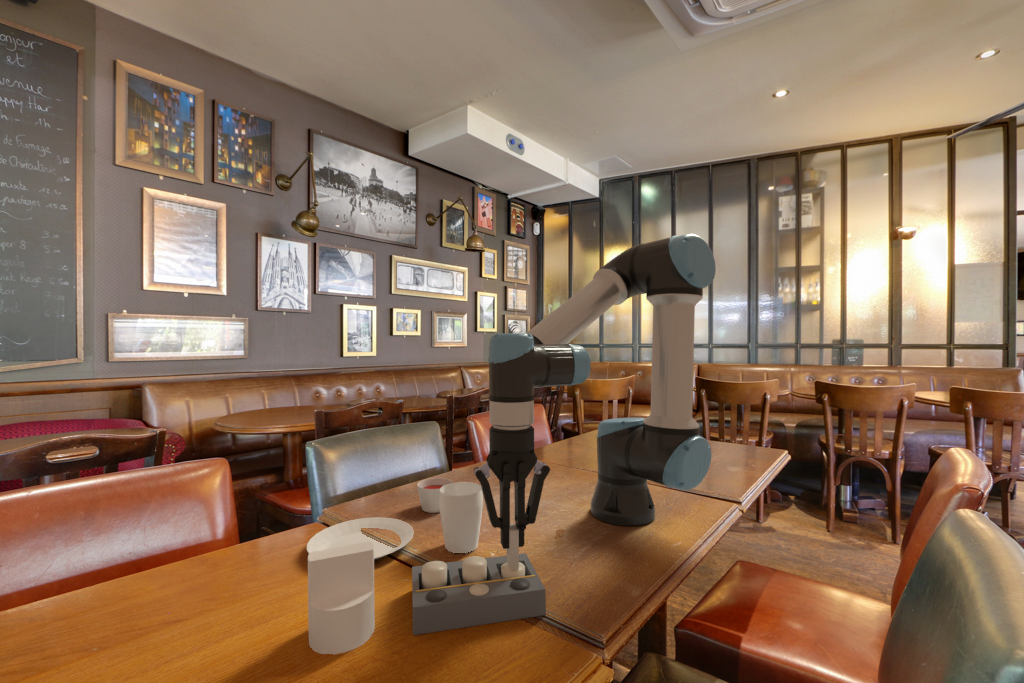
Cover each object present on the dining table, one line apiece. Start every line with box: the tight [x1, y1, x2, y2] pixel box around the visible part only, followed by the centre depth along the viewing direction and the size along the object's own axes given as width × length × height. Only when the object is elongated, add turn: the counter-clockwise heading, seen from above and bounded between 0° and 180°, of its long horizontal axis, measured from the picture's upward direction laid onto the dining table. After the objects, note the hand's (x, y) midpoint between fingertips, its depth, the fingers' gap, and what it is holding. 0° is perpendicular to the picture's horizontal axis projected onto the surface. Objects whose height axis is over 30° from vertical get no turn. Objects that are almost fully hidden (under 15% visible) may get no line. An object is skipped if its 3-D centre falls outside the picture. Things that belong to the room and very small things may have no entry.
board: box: [411, 552, 547, 636], centre depth 73 cm, size 20×12×4 cm, turn 103°
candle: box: [416, 477, 454, 514], centre depth 114 cm, size 9×9×6 cm
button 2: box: [462, 555, 487, 584], centre depth 74 cm, size 4×4×4 cm
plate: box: [306, 516, 415, 561], centre depth 93 cm, size 21×21×2 cm
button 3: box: [421, 560, 447, 589], centre depth 72 cm, size 4×4×4 cm
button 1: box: [501, 562, 525, 579], centre depth 75 cm, size 4×4×4 cm
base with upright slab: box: [307, 541, 376, 655], centre depth 65 cm, size 9×9×12 cm
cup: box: [439, 481, 484, 554], centre depth 92 cm, size 9×9×12 cm
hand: (512, 565), depth 75 cm, fingers closed
